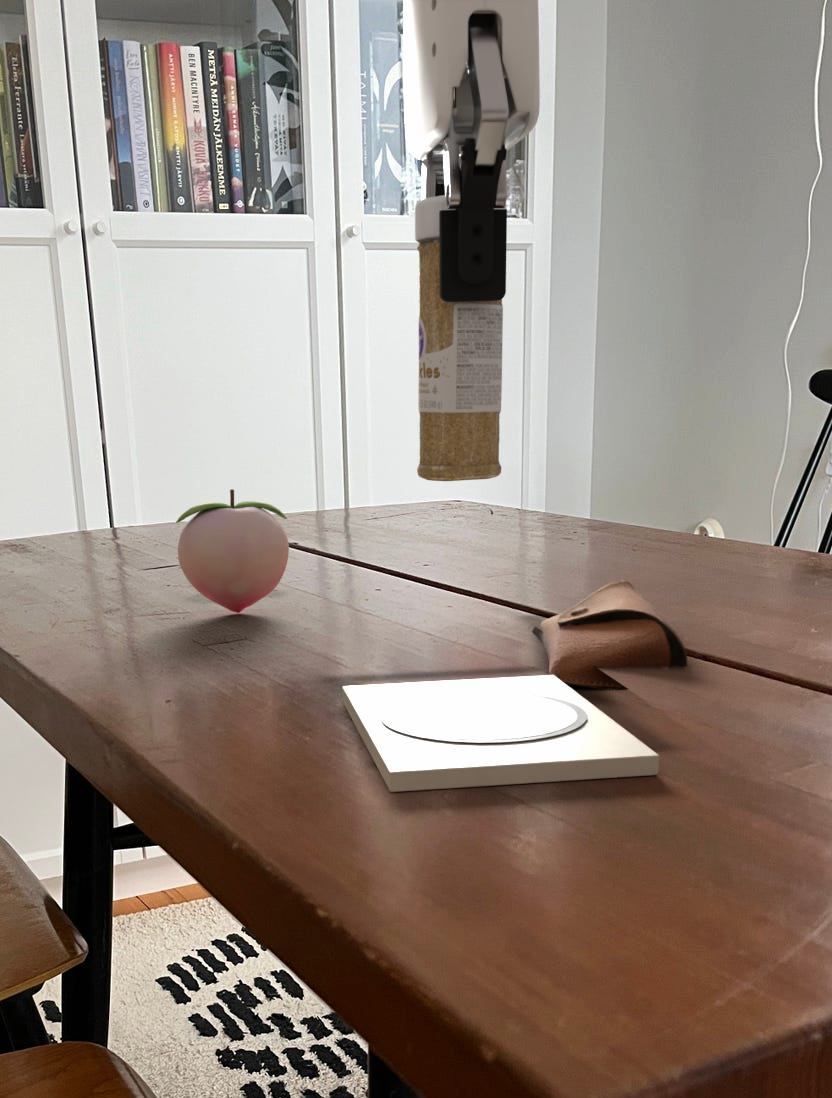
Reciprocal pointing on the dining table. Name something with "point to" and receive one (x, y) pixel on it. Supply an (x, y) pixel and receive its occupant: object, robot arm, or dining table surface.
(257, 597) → the decorative fruit
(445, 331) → the sprinkles bottle
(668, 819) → the dining table surface
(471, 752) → the white flat block
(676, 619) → the dining table surface
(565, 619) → the sunglasses case
